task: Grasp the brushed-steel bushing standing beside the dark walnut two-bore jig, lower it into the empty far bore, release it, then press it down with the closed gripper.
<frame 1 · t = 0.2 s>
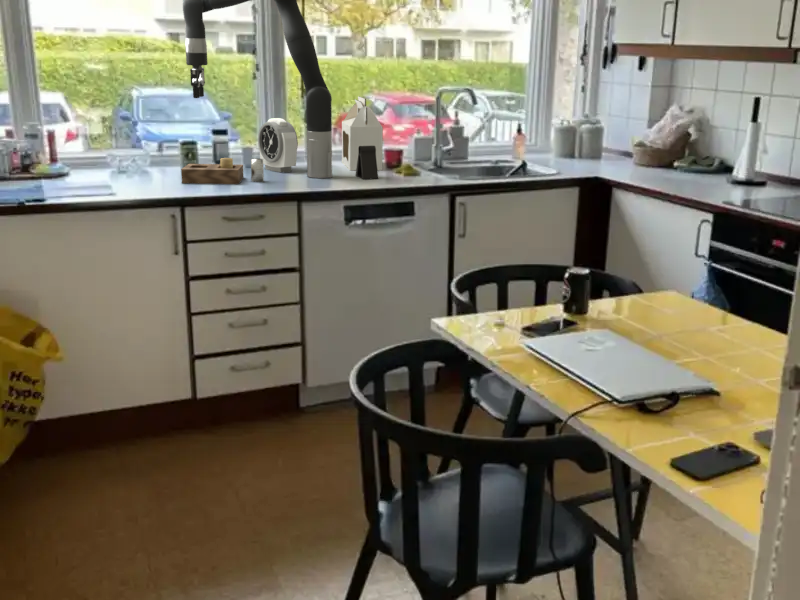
hand: (198, 97, 316), 29 cm above the table, fingers open, 8 cm apart
alarm clock: (278, 170, 340), on the table
steel bushing: (257, 181, 313), on the table
door stopper: (366, 178, 326), on the table
gable box: (361, 167, 354), on the table
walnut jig: (213, 180, 312), on the table
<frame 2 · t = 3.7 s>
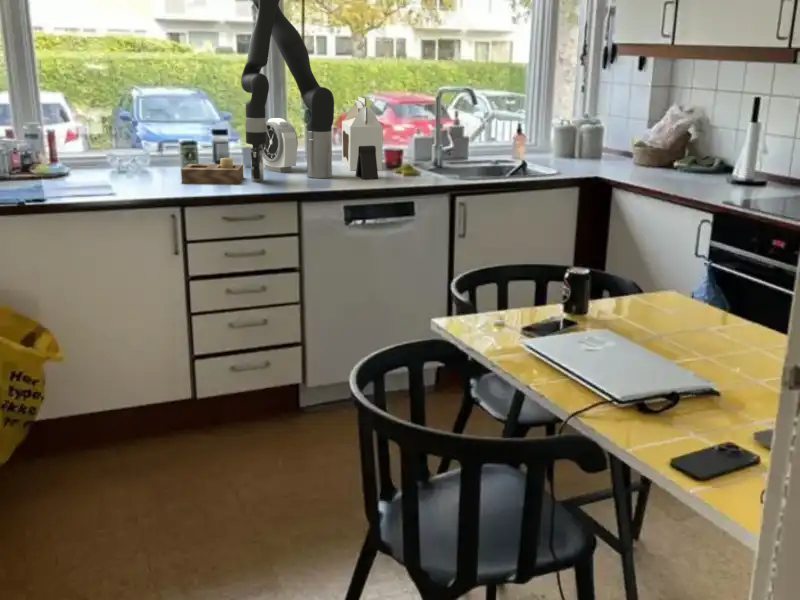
hand: (257, 177, 313), 1 cm above the table, fingers closed on steel bushing, 4 cm apart
steel bushing: (257, 181, 313), on the table, touching gripper
everything else where it was.
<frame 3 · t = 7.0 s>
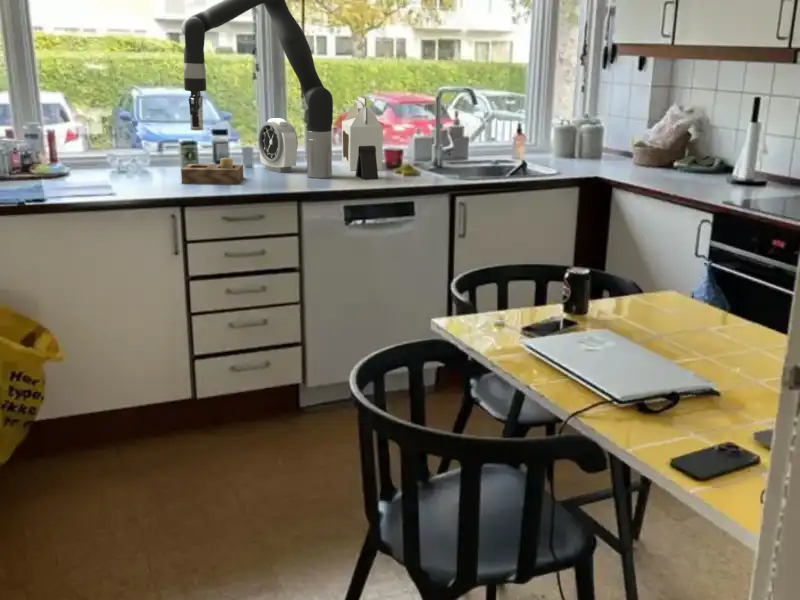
hand: (197, 126, 306), 20 cm above the table, fingers closed on steel bushing, 4 cm apart
steel bushing: (197, 129, 307), point 18 cm above the table, touching gripper
everything else where it was.
when the fingers open (5 cm above the table, at t = 10.1 s): steel bushing drops 4 cm, resting in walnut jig.
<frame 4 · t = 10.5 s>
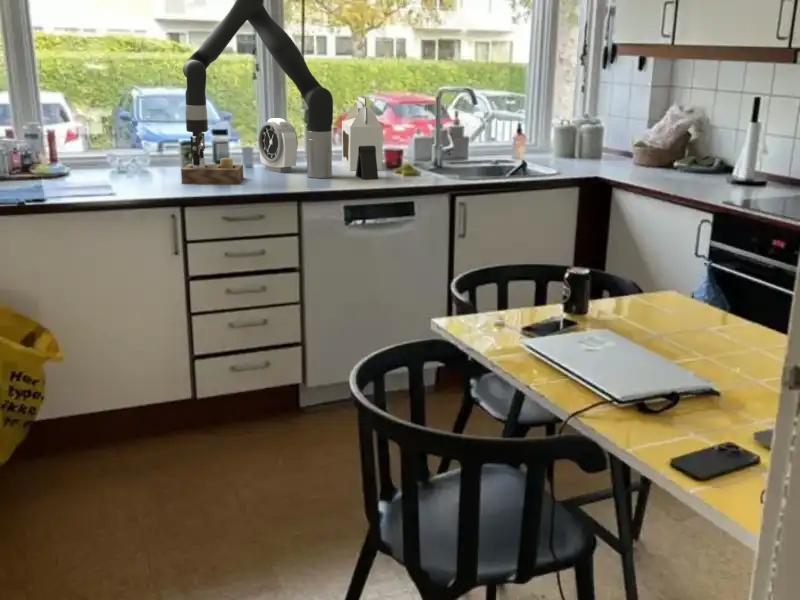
hand: (198, 163, 310), 6 cm above the table, fingers open, 8 cm apart
steel bushing: (199, 180, 312), resting in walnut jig
everything else where it was.
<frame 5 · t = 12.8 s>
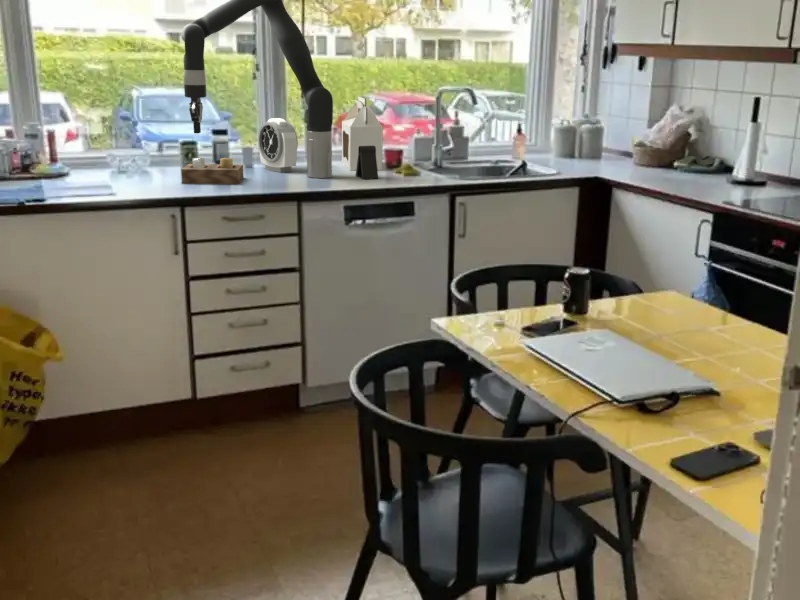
hand: (197, 133, 307), 17 cm above the table, fingers closed
nothing on the table moved.
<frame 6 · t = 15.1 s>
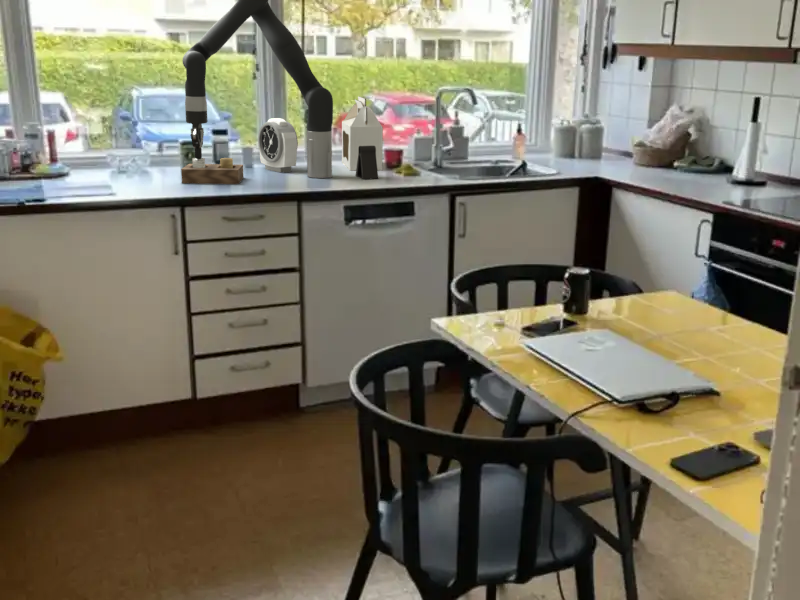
hand: (198, 158, 310), 8 cm above the table, fingers closed
steel bushing: (199, 180, 312), resting in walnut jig, touching gripper
everything else where it was.
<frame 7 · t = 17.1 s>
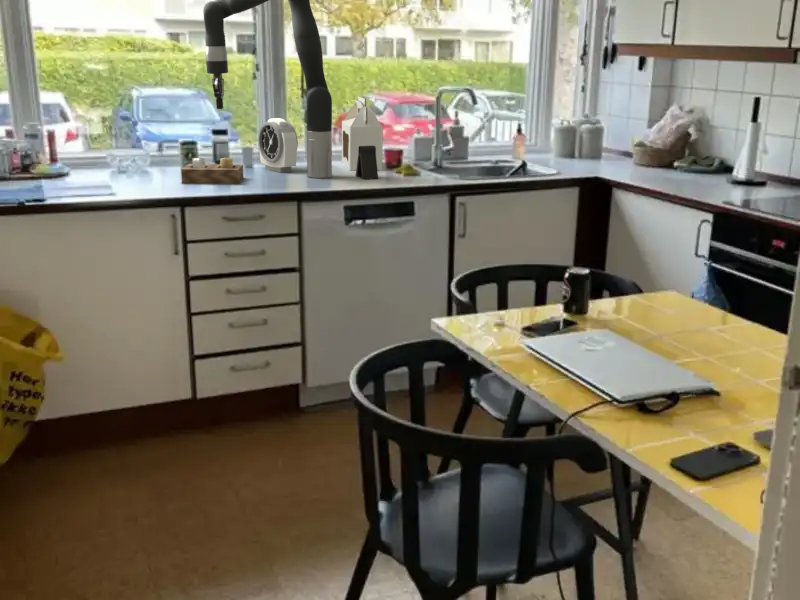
hand: (220, 108, 313), 25 cm above the table, fingers closed
steel bushing: (199, 180, 312), resting in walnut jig
everything else where it was.
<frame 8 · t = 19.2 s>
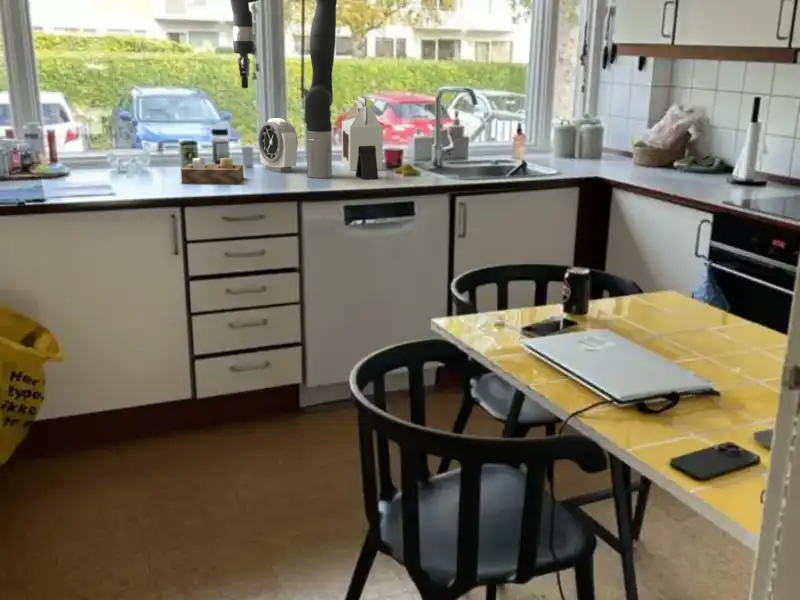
hand: (245, 88, 321), 32 cm above the table, fingers closed
nothing on the table moved.
at the end: steel bushing 0.2 cm from the target spot on the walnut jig, point 0.0 cm above the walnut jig's base; steel bushing tilted 0°; the gripper is holding nothing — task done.
